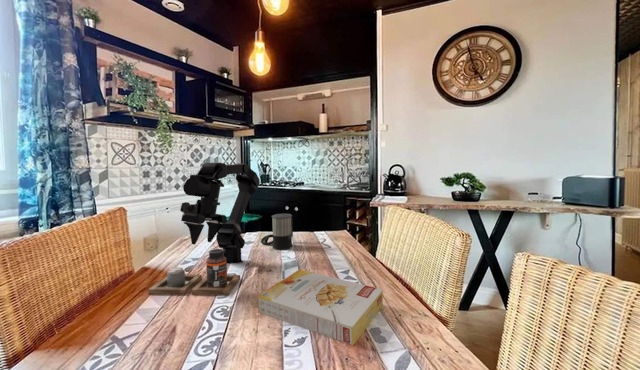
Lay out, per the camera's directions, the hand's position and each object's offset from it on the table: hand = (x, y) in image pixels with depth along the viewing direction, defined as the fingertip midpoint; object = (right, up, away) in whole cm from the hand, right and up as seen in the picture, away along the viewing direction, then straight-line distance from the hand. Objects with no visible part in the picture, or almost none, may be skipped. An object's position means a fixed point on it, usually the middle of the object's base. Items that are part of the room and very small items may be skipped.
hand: (201, 243), depth 100 cm
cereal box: (+41, -14, -21) cm, 48 cm away
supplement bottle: (+9, -12, -9) cm, 17 cm away
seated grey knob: (-4, -12, -8) cm, 15 cm away
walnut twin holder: (+2, -13, -9) cm, 16 cm away
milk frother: (+20, -9, +36) cm, 43 cm away
